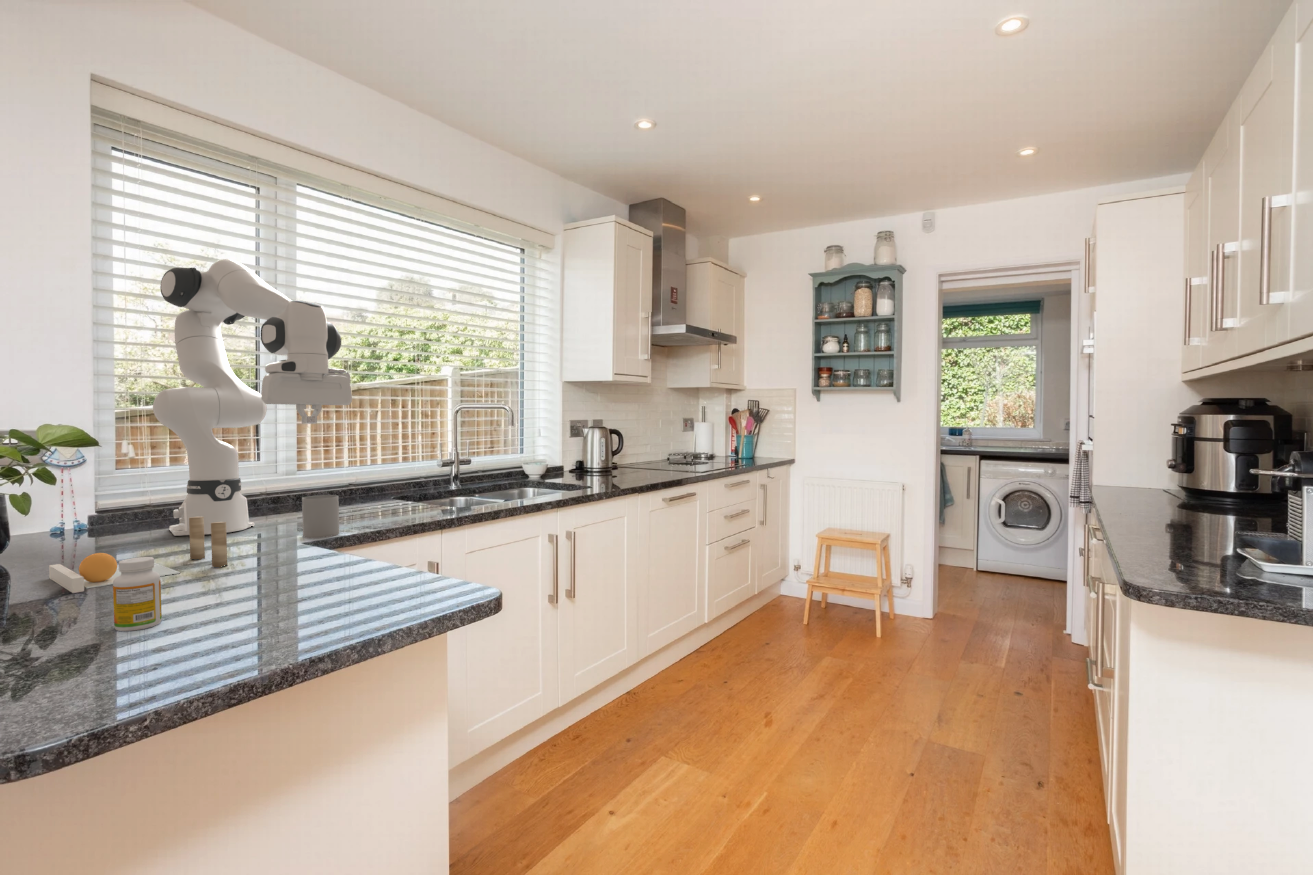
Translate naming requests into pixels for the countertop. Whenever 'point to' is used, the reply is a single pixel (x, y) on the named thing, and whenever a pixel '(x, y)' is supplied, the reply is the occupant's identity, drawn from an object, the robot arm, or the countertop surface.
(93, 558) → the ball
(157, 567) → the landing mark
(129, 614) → the supplement bottle
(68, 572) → the wall
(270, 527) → the countertop surface
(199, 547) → the post
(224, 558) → the post
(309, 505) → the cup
